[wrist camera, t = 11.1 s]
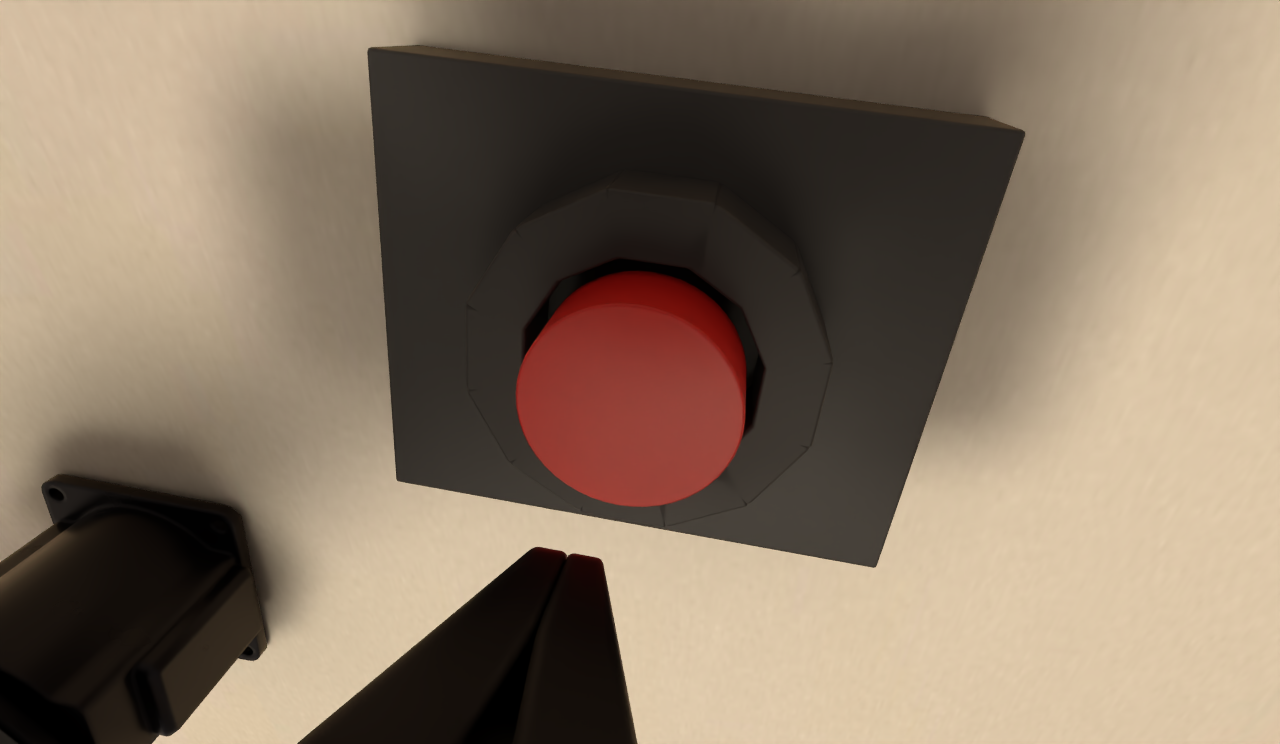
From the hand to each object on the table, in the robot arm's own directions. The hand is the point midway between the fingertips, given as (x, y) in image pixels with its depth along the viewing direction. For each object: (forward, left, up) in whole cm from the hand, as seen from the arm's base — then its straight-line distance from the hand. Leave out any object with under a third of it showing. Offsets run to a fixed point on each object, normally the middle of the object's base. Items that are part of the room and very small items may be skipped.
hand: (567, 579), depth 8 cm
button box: (0, 0, -9) cm, 9 cm away
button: (0, 0, -6) cm, 6 cm away
